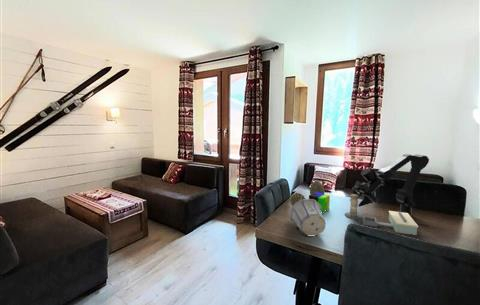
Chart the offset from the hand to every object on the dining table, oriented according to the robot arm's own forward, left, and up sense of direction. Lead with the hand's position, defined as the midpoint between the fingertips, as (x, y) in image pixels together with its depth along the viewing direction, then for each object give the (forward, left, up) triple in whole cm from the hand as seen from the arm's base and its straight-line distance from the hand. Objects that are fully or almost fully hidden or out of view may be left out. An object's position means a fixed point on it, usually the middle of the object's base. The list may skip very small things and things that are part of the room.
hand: (354, 203), depth 140 cm
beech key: (0, 0, -8) cm, 8 cm away
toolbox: (+6, +16, -8) cm, 19 cm away
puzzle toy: (-4, -21, -9) cm, 23 cm away
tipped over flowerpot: (+26, -27, -9) cm, 39 cm away
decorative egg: (-24, -24, -9) cm, 35 cm away
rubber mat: (0, 0, -8) cm, 8 cm away
